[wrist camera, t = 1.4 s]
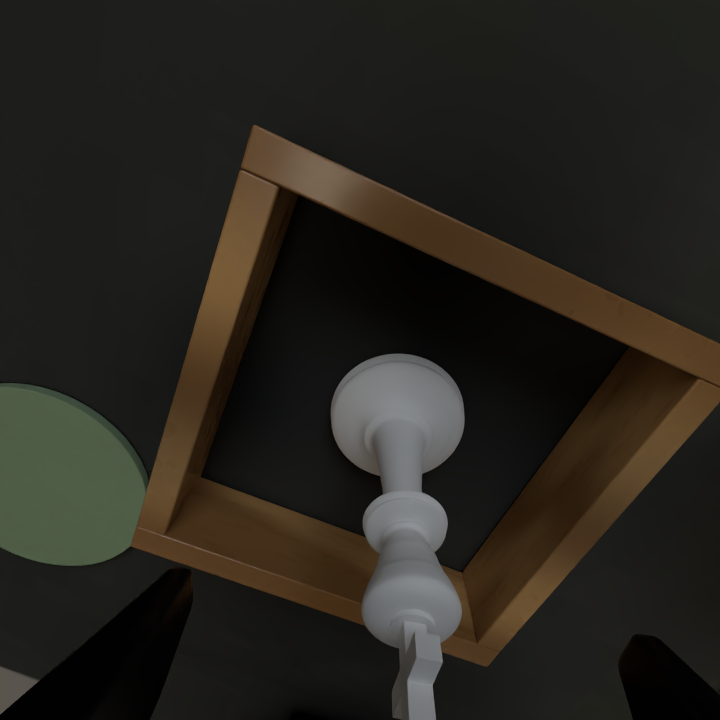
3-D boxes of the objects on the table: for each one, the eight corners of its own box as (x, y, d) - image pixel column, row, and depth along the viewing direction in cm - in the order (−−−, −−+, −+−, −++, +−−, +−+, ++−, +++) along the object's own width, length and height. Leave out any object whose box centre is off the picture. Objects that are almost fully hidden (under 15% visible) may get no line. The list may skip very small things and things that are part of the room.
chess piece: (481, 368, 15) (642, 663, 6) (442, 479, 17) (517, 835, 8) (344, 339, 15) (285, 598, 6) (320, 455, 17) (247, 790, 7)
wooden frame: (470, 593, 19) (486, 667, 16) (171, 485, 18) (129, 546, 15) (678, 324, 14) (757, 361, 11) (282, 137, 12) (252, 123, 10)
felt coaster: (129, 583, 20) (124, 590, 20) (-69, 518, 19) (-78, 524, 19) (174, 434, 17) (169, 440, 16) (-63, 346, 16) (-73, 350, 15)
